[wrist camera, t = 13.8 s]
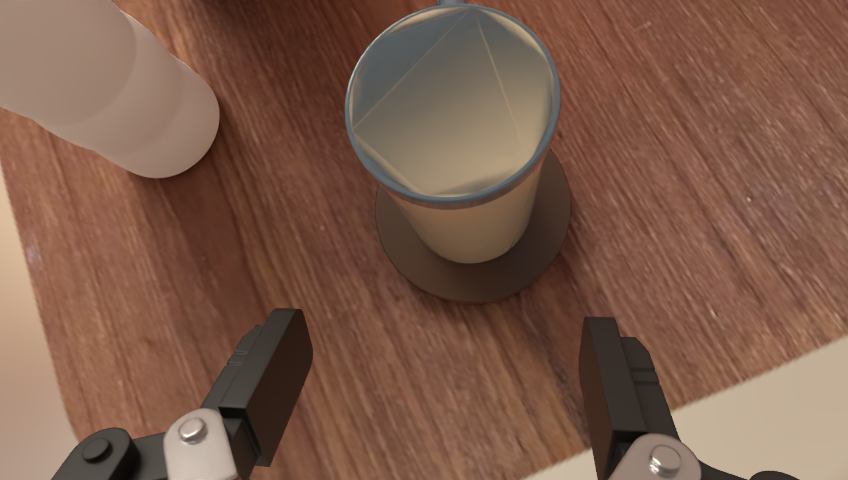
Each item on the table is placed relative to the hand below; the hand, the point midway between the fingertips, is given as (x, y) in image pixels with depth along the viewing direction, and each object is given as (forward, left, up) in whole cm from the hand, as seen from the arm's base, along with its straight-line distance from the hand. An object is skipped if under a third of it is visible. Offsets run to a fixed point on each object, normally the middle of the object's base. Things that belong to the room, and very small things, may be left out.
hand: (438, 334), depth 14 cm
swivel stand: (+5, +5, -12) cm, 13 cm away
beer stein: (+6, +6, -10) cm, 13 cm away
